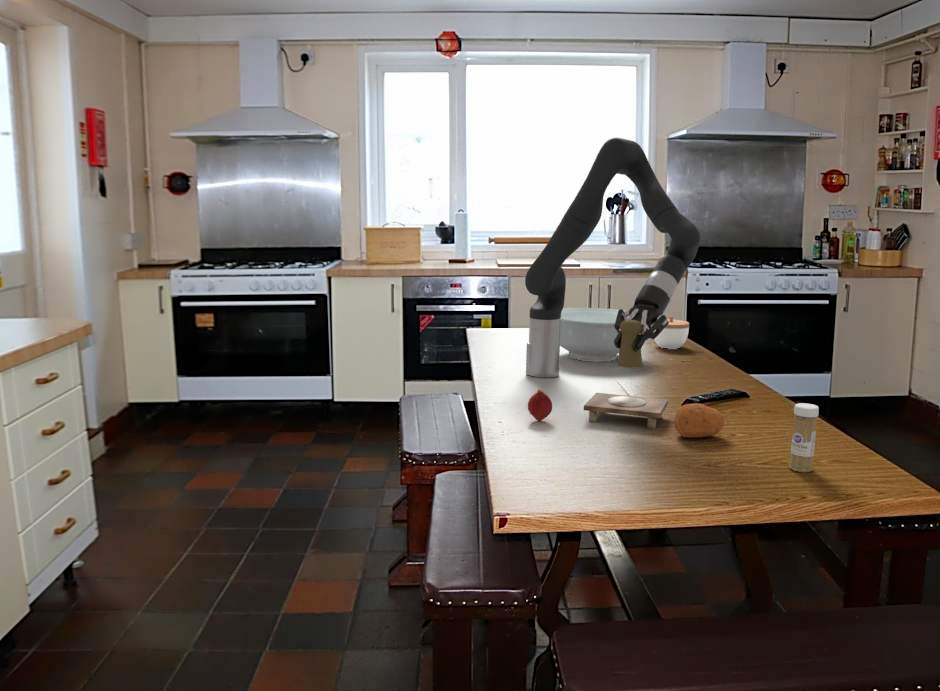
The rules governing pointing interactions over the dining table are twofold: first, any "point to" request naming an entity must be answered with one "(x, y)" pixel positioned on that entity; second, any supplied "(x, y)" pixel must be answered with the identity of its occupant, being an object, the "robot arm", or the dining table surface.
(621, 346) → the olive pepper mill
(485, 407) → the dining table surface
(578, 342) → the bowl
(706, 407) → the potato
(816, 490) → the dining table surface
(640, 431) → the dining table surface
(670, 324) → the lidded bowl
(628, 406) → the wooden stand
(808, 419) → the sprinkles bottle
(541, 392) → the onion
